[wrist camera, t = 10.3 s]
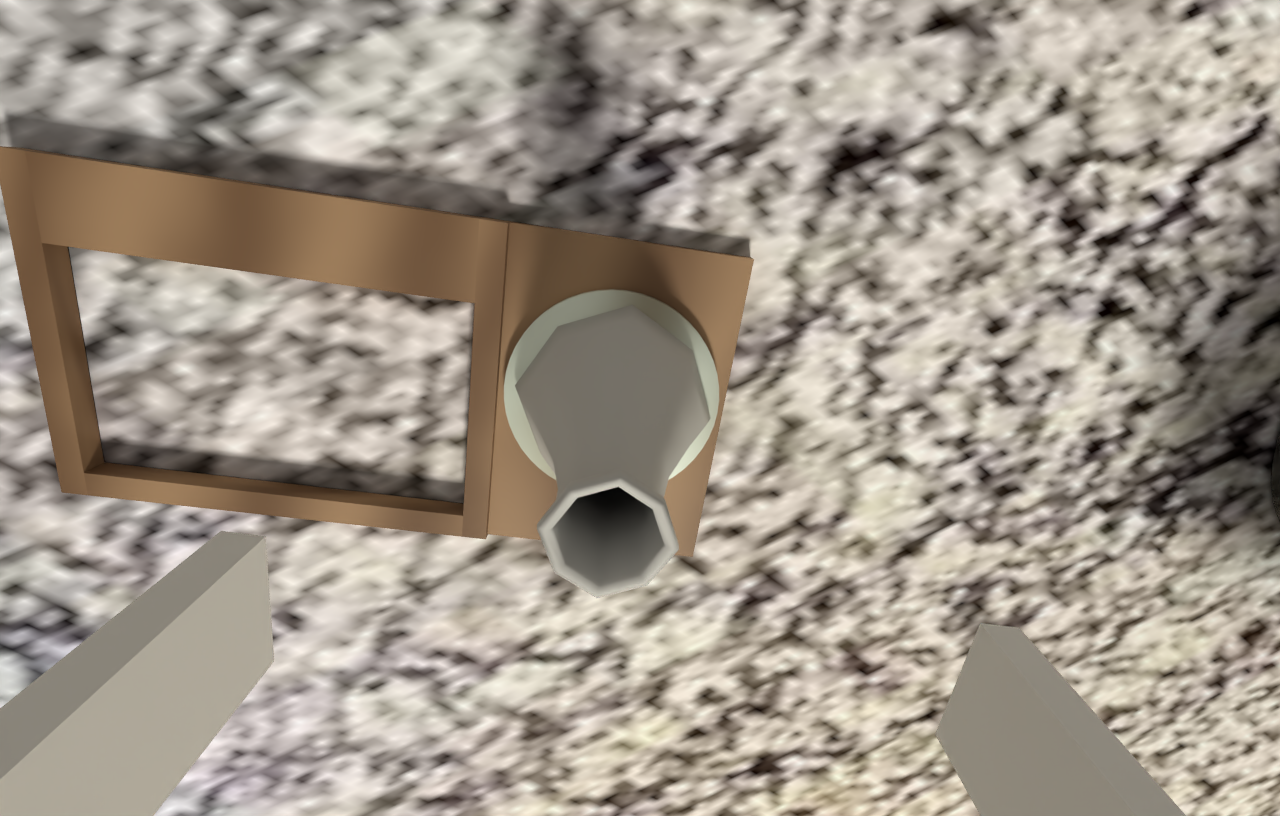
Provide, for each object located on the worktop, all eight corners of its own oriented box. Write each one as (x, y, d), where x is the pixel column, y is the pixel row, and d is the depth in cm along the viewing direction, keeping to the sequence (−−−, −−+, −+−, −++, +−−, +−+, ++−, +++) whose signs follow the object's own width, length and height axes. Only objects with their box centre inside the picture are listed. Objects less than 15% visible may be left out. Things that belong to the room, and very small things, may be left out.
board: (750, 257, 23) (756, 260, 22) (691, 549, 27) (693, 563, 26) (21, 147, 21) (-11, 145, 20) (82, 481, 25) (59, 493, 24)
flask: (638, 268, 22) (650, 328, 12) (740, 421, 24) (817, 570, 15) (482, 377, 23) (385, 507, 14) (593, 513, 25) (576, 706, 16)
